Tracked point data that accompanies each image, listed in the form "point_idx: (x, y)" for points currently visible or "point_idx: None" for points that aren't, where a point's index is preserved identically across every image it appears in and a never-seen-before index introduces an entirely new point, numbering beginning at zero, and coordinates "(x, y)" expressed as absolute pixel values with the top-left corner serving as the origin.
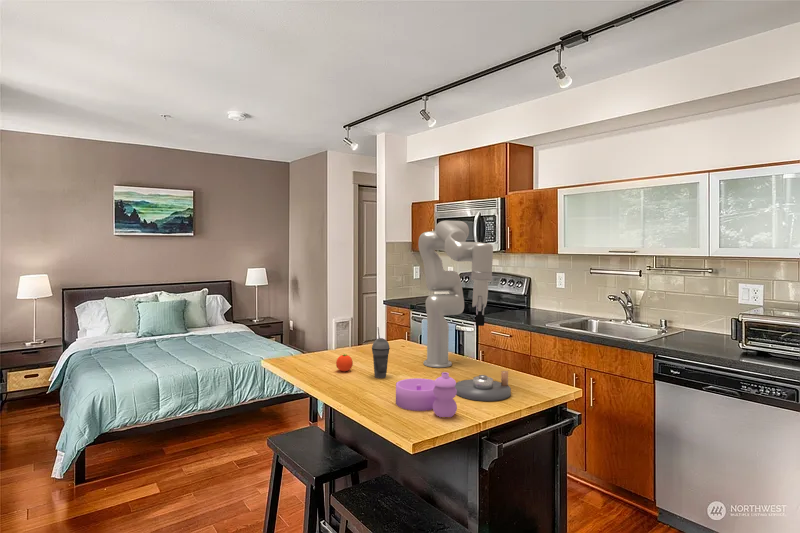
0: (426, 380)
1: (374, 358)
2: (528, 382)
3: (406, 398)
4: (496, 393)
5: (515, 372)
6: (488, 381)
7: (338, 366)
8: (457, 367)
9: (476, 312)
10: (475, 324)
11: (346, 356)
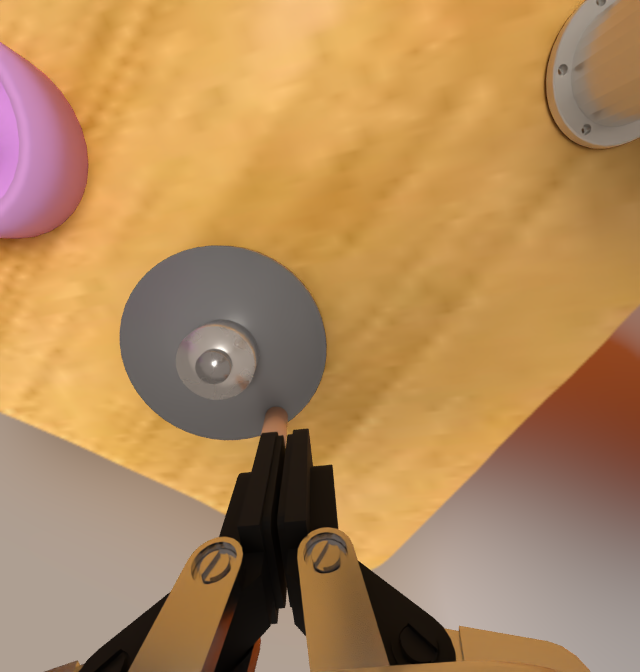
0: (21, 137)
1: None
2: (408, 461)
3: None
4: (166, 406)
5: (529, 412)
6: (189, 387)
7: None
8: (570, 185)
9: (171, 590)
10: (261, 435)
11: None
